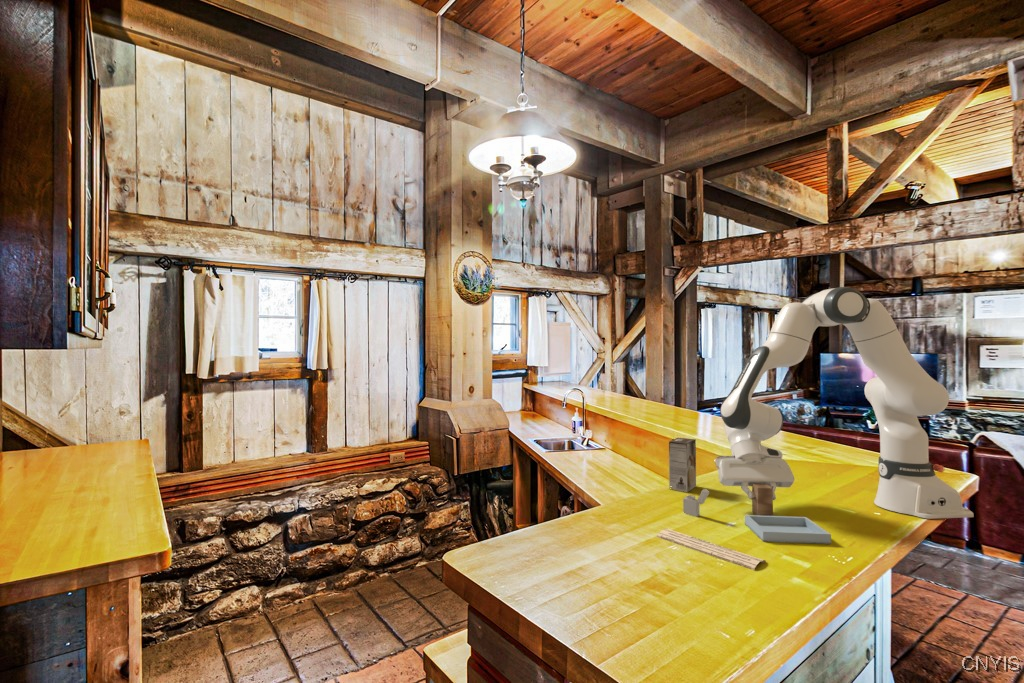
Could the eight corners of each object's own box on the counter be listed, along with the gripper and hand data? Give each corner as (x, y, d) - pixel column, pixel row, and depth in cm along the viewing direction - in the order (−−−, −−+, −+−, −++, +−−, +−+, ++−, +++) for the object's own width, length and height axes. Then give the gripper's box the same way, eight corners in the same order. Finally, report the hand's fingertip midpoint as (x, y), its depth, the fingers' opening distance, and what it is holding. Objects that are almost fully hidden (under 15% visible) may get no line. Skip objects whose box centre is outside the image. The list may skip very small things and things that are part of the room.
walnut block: (766, 512, 137) (766, 484, 137) (772, 517, 133) (772, 488, 133) (752, 511, 138) (752, 483, 138) (757, 516, 134) (757, 487, 134)
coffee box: (677, 483, 167) (677, 436, 167) (696, 486, 163) (696, 439, 163) (668, 489, 159) (668, 441, 159) (688, 492, 155) (688, 443, 156)
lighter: (682, 513, 137) (682, 485, 137) (686, 511, 138) (686, 483, 138) (706, 519, 131) (706, 490, 131) (709, 518, 132) (709, 489, 132)
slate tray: (806, 526, 127) (806, 517, 127) (831, 544, 115) (830, 534, 115) (744, 523, 128) (744, 514, 128) (763, 541, 117) (763, 531, 117)
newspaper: (656, 539, 119) (656, 532, 119) (672, 532, 124) (672, 525, 124) (754, 573, 102) (754, 565, 102) (768, 564, 106) (768, 555, 106)
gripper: (715, 449, 144) (727, 492, 134) (787, 451, 142) (804, 494, 132) (711, 461, 148) (721, 503, 139) (780, 462, 146) (796, 505, 137)
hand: (762, 498), depth 135 cm, fingers closed on walnut block, 4 cm apart
